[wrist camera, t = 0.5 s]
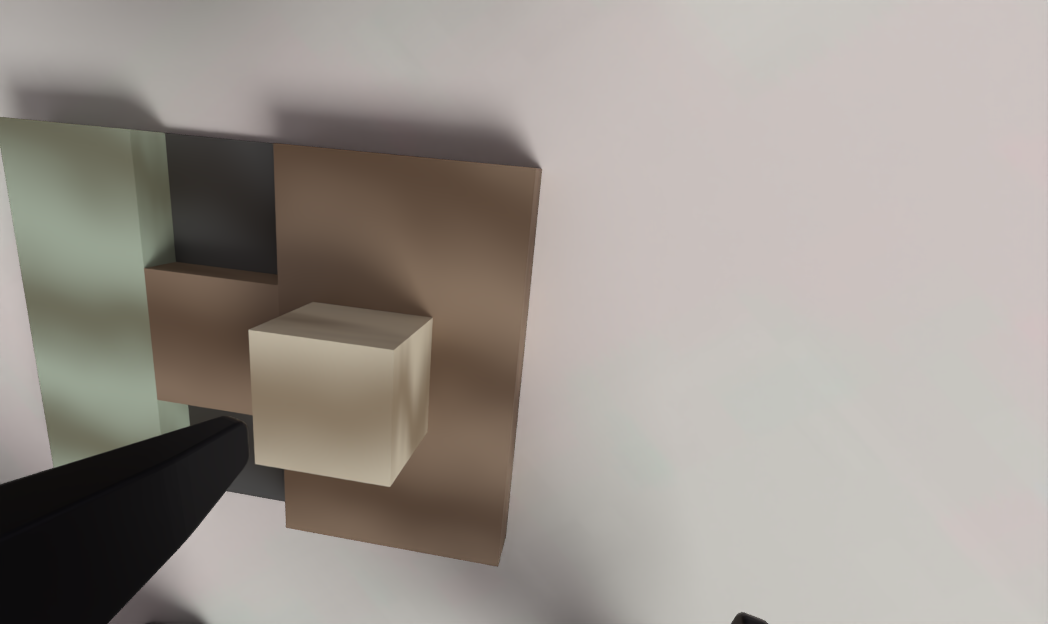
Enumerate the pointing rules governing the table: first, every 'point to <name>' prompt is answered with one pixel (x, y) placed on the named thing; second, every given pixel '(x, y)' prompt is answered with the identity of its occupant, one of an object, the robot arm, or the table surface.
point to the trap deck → (275, 303)
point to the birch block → (340, 391)
